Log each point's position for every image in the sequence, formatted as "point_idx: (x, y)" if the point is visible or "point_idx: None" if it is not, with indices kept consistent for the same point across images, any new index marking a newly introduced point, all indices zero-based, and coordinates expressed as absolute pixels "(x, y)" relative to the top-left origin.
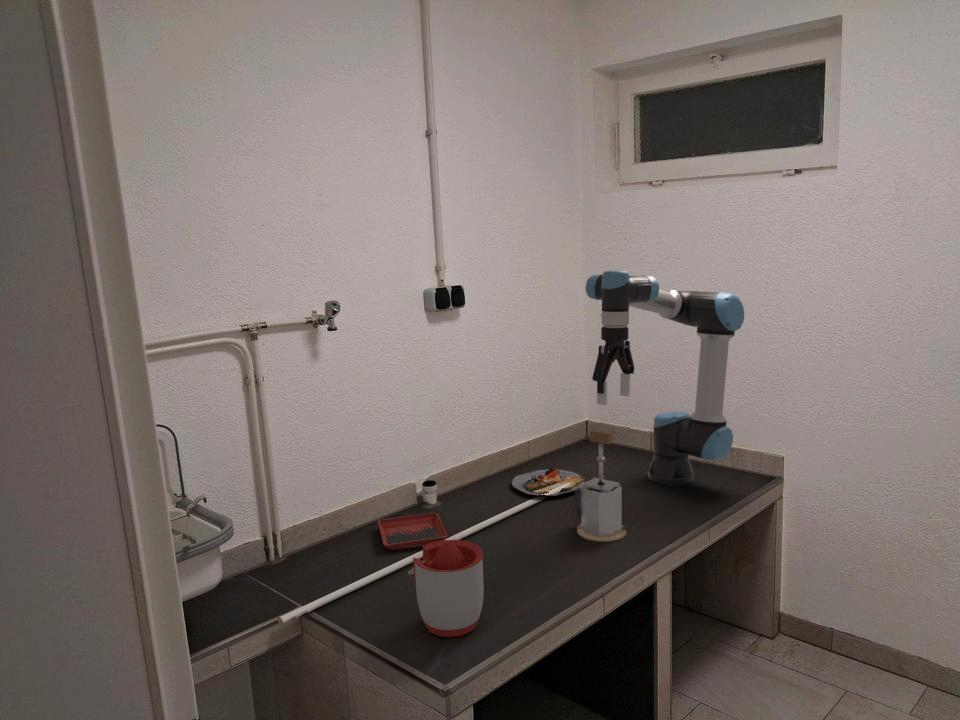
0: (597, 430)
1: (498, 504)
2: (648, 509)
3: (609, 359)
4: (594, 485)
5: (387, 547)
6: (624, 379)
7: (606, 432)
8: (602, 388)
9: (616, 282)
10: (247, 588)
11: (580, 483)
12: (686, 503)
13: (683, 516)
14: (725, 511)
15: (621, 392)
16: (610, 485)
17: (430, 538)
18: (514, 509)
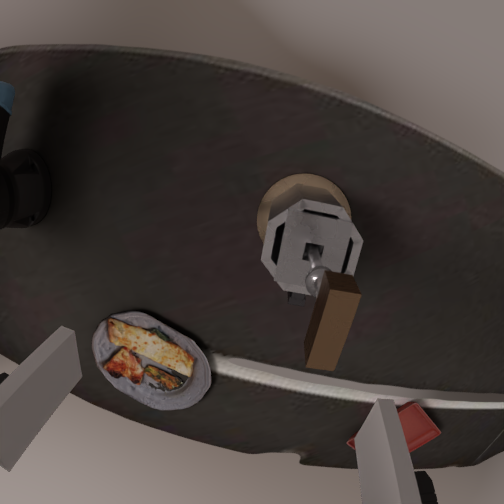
0: (320, 349)
1: (257, 401)
2: (160, 170)
3: None
4: (331, 264)
5: (437, 430)
6: (18, 427)
7: (341, 309)
8: (426, 501)
9: None
10: (492, 449)
11: (122, 319)
12: (106, 118)
13: (166, 99)
14: (117, 47)
15: (70, 382)
16: (317, 226)
17: (424, 412)
18: (266, 378)
